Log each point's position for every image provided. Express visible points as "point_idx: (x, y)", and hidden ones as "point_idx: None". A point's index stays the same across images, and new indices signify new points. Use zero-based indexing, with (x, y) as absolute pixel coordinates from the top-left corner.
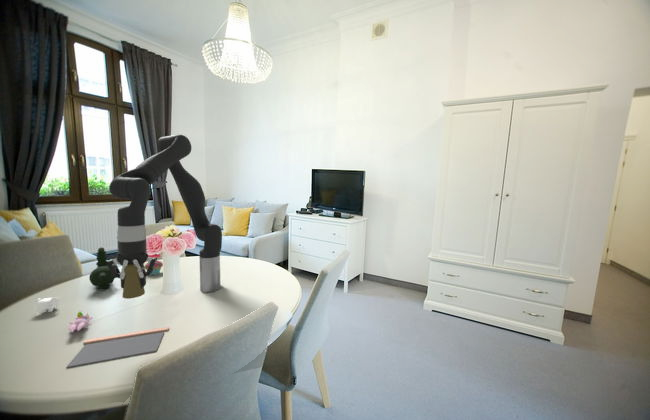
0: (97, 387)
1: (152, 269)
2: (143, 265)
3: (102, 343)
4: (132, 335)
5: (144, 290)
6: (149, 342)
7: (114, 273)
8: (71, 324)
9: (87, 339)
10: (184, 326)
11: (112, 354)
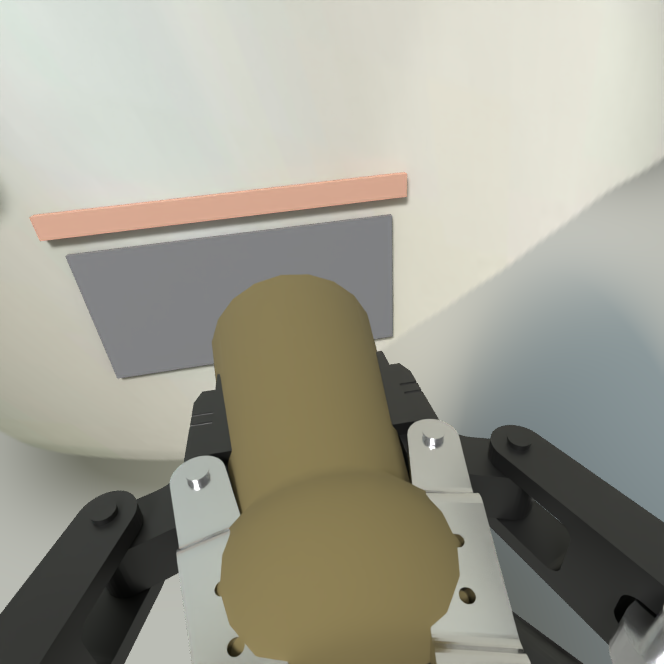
0: None
1: (567, 478)
2: (487, 555)
3: (145, 259)
4: (251, 214)
5: (370, 328)
6: (352, 286)
7: (119, 627)
8: None
9: (39, 218)
10: (474, 169)
11: None
